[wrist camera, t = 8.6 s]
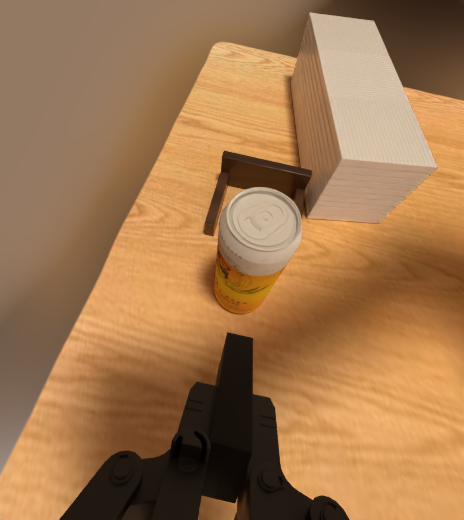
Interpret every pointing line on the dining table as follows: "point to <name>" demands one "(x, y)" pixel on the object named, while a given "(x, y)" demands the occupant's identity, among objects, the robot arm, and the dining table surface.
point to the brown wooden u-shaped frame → (256, 181)
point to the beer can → (254, 246)
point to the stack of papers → (354, 123)
